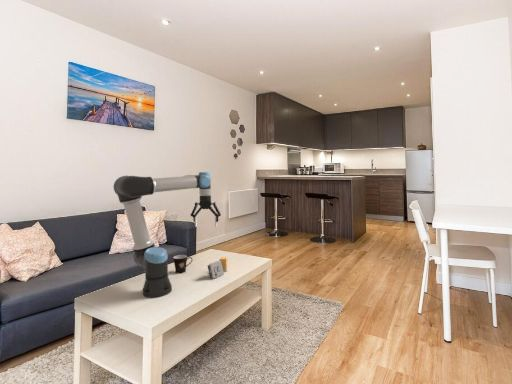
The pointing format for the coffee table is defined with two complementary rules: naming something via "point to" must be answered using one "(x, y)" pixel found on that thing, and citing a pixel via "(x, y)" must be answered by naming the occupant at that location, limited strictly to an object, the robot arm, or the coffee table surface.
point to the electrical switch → (215, 269)
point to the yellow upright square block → (224, 262)
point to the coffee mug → (180, 263)
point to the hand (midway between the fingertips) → (206, 226)
